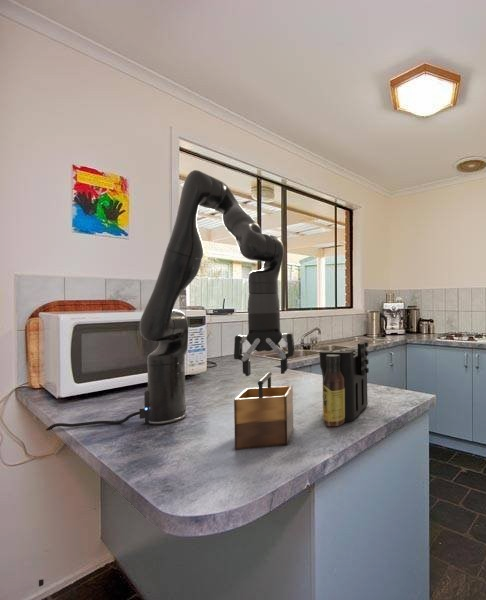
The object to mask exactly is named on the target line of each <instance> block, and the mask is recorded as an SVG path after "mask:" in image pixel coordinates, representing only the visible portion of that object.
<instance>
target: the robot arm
mask: <svg viewBox="0 0 486 600" xmlns="http://www.w3.org/2000/svg"><path fill="white" fill-rule="evenodd" d="M199 206H200V207H203V208H206V209H208V210H211V211H212V210H213V211H215V212H217V213H219V214H220V215H222V218H221V219H222V224H223V227H224V228H225V229H226V231H228V233H229V234H230V235H231V236H232V237H233V238H234V239H235V242H236V245H237V247H238V250H239V252H240V254H241V256H243V257H244V259H247V260H250V261H254V262H255V261H256V262H263V265H262V267H261V269H257V270H252V271H250V272H249V274H248V297H247V298H248V299H247V315H248V316H247V327H248V334H247V335H245V334H243V335H242V334H237V335H235V336H234V344H233V346H234V347H233V348H234V349H233V358H234V360H239V361H241V362H242V373H243V375H244V376H245V377H249V376H251V375H252V374H251V371H252V370H251V369H252V367H251V360H250V358H251V357H252V356H253V354H254V353H255V352H258V353H259V352H264V351H265V352H272V351H274V352H275V353H276V354H277V355H278V356H279V357H280V358H281V359H280V374H281V375H284V374H285V373H286V371H287V370H288V368H289V367H288V359H289V358H291V357H293V356H294V355H295V344H294V342H295V341H294V333H293V332H289V333H282V331H281V314H280V313H281V311H280V310H281V309H280V308H281V307H280V298H279V280H278V279H279V275H280V271H281V268H282V263H283V260H284V255H285V246H284V243H283V241H282V239H281V238H279V237H278V236H277V235H272V234H265V233H262V229H261V226H260V224H258V222H257V221H256V220H255V219H253V217H252V216H251V215H250V214H248V212H246V210H244V208H243V207H242V206H241V204H240V203H239V201H238V200H237V198H236V197H235V195H234V194H233V192H232V190H231V188H229V186H228V185H227V184H226V182H223V181H222V180H220V179H218V178H215V177H213V176H211V175H209V174H207V173H205V172H203V171H200V170H199V169H198V170H197V169H193V170H191V171H190V172H189V173H188V174H187V176H186V177H185V179H184V182H183V185H182V188H181V194H180V198H179V203H178V208H177V212H176V218H175V221H174V224H173V228H172V231H171V235H170V238H169V240H168V243H167V246H166V249H165V253H164V256H163V259H162V262H161V266H160V270H159V272H158V274H157V275H158V276H157V279H156V282H155V285H154V287H153V290H152V293H151V294H150V297H149V299H148V302H147V304H146V306H145V308H144V311H143V313H142V314H141V318H140V319H139V327H138V328H139V333H140V336H141V337H142V339H144V340H145V341H148V342H152V343H156V342H157V343H158V346H157V347H156V349H154V350H153V351H152V352H150V353H149V354H148V355H147V358H146V361H147V362H146V363H147V367H146V368H147V369H146V370H147V371H146V372H147V389H146V390H145V391H144V392H143V394H144V395H143V397H144V399H143V400H144V401H143V402H144V406H143V407H140V408H139V411H134V412H132V413H130V414H128V415H127V416H126V417H124V418H123V419H120V420H95V421H84V422H75V423H66V422H65V423H64V422H57V423H53V424H51V425H49V426H48V427H47V428H45V431H47V432H48V431H51V430H53V429H55V428H57V427H63V428H75V427H84V426H91V425H93V426H94V425H119V424H123V423H126V422H127V421H128V420H130V419H131V418H133V417H135V416H138V415H139V420H141V419H144V424H146V425H155V426H156V425H158V426H159V425H165V424H170V423H174V422H179V421H181V420H183V419H185V418H186V417H187V411H186V408H187V405H186V365H185V363H186V357H185V356H186V354H187V352H188V347H189V321H188V318H187V316H186V314H185V313H184V312H183V311H181V310H179V309H174V308H175V305H176V302H177V301H178V299H179V297H180V295H181V294H182V293H183V292H184V291H185V289H186V288H187V287H188V286H190V284H191V283H192V282H193V280H195V278H196V277H197V275H198V273H199V271H200V269H201V266H202V262H203V259H204V254H205V249H204V245H203V241H202V238H201V234H200V232H199V228H198V223H197V220H198V219H197V217H198V211H199ZM282 339H283V341H284V342H286V344H287V352H286V351H285V350H284V348H283V347H282V345H280V342H281V340H282ZM246 341H247V342H248V343H249V345H250V346H249V348H248V349H247V350H246V352H245V354H244V353H243V345H244V344H245V342H246ZM44 584H45V583H44V579H42V578H41V579H38V587H43V586H44Z"/></svg>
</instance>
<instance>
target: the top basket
mask: <svg viewBox="0 0 486 600" xmlns="http://www.w3.org/2000/svg"><path fill="white" fill-rule="evenodd" d="M272 375H273V374H272V372H271V371H267V373H266V374H265V375H264V376H263V377H262V378H261V379H259V380H258V382H257V385H258V387H249V388H248V387H247V388H245V389H244V390H242V391H241V392H240V394H238V395H237V396H236V397H235V398H234V399H233V415H234V416H233V418H234V420H233V421H234V422H233V423H234V425H235V424H248V423H261V422H274V421H287V419H288V417H289V415H290V412H291V410H292V408H293V409H294V389H293V385H283V386H272ZM266 382H267V386H266V387H265V386H264V384H265V383H266Z"/></svg>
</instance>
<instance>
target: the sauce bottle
mask: <svg viewBox="0 0 486 600" xmlns="http://www.w3.org/2000/svg"><path fill="white" fill-rule="evenodd" d="M340 359H341V357H340V355H336V354H328V355H326V360H327V371H326V374H325V377H324V380H323V379H322V419H323V424H324V425H325V426H326V427H339V426H342V425H343V424H344V418H345V387H344V377H343V375H342V373H341V371H340Z"/></svg>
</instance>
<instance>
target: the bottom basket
mask: <svg viewBox="0 0 486 600" xmlns="http://www.w3.org/2000/svg"><path fill="white" fill-rule="evenodd" d="M233 426H234V450H245V449H257V448H267V447H280V446H288V444H289V441H290V439H291V436H292V433H293V431H294V407H293V408H292V410H291V412H290V415H289V417H288V419H287V421H274V422H261V423H248V424H234V425H233Z"/></svg>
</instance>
